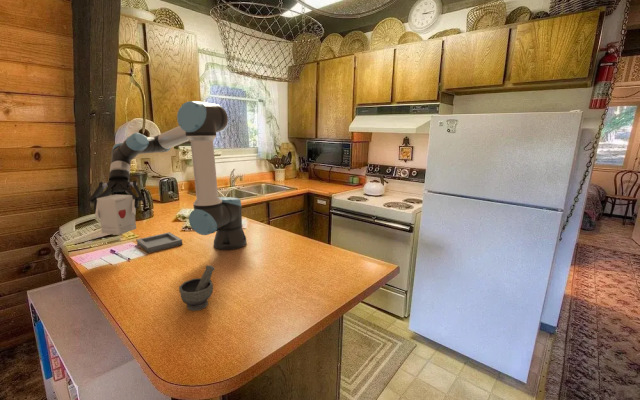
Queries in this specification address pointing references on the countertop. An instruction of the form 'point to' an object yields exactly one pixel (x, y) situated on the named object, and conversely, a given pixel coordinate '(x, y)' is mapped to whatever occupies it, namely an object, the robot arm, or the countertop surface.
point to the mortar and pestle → (197, 290)
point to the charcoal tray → (159, 242)
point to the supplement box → (116, 214)
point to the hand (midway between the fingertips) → (115, 215)
